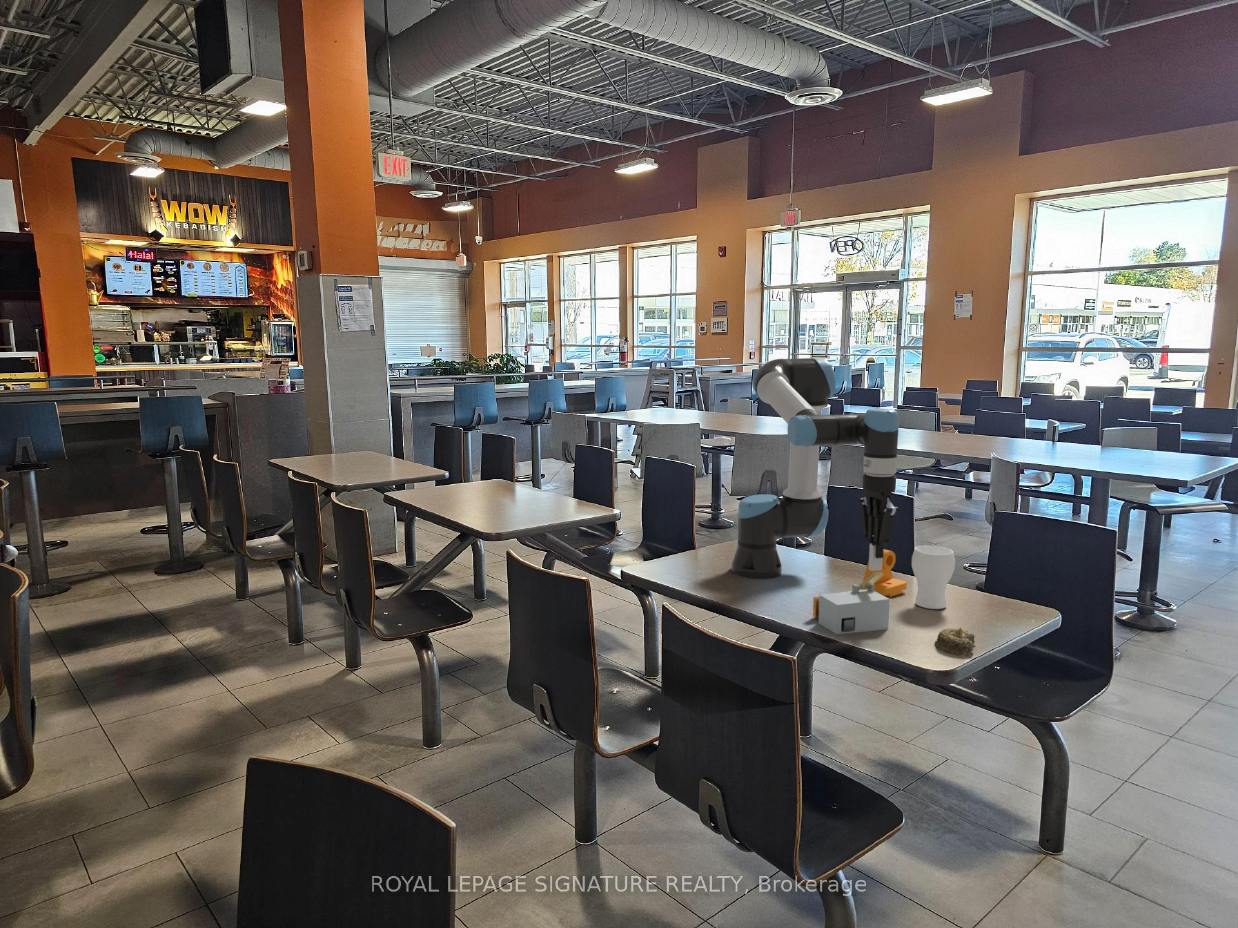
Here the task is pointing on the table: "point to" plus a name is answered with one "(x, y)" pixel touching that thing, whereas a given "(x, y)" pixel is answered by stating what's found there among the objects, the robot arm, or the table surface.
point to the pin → (846, 622)
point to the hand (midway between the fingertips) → (875, 569)
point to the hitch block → (854, 610)
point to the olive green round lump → (956, 641)
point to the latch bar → (870, 580)
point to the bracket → (887, 577)
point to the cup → (932, 574)
